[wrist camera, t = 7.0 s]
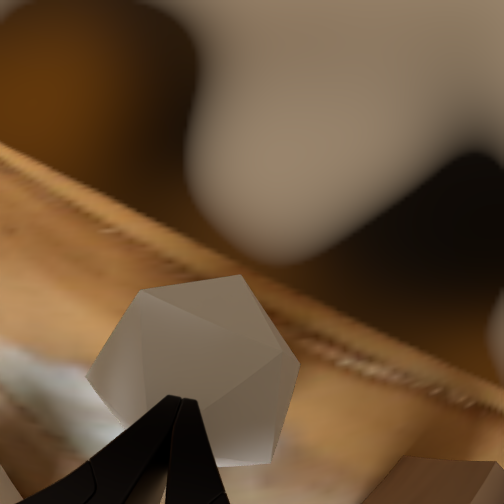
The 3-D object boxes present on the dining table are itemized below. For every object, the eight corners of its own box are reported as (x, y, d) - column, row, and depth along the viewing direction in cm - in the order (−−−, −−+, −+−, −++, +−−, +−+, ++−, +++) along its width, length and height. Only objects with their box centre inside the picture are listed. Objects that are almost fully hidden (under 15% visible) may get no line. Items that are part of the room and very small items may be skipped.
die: (304, 351, 18) (257, 203, 13) (320, 489, 11) (259, 382, 6) (179, 372, 19) (98, 252, 14) (157, 495, 12) (12, 392, 7)
